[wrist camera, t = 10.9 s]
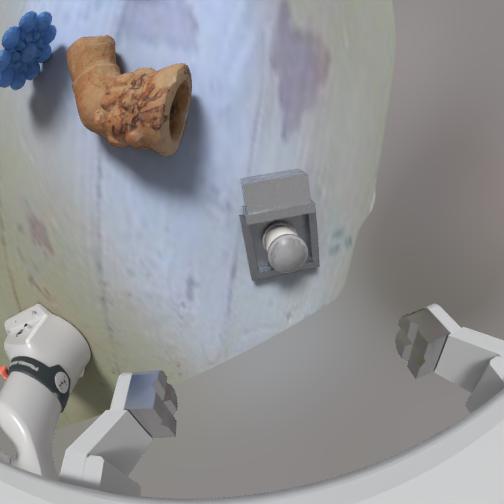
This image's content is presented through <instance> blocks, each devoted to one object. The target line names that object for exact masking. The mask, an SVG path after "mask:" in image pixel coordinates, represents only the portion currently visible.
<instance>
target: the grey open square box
mask: <svg viewBox="0 0 504 504" xmlns="http://www.w3.org/2000/svg"><path fill="white" fill-rule="evenodd" d="M240 180H241V185H242V191H243V196H244V202H245V206H242V208H243V213H244V215H239V216H240V221H241V226H242V232H243V237H244V242H245V247H246V253H247V258H248V263H249V268H250V273H251V278H252V280H257V279H262V278H267V277H272V276H277V275H281V274H286V273H281V272H278V271H276V270H275V269H274V268H273V267H272V266H271V264H270V262H269V260H268V255H267V252H266V250H265V249H264V247H263V244H262V235H263V232H264V230H265V229H266V228H267V227H268V226H269V225H270V224H272V223H274V222H279V221H282V222H287V223H289V224H290V225H292V226H293V227H294V229H295V230H296V232H297V234H298V236H299V237H300V238H301V239H302V240H303V241H304V242H305V244H306V246H307V248H308V257H307V260H306V262H305V263H304V265H303V266H302V267H301V268H300V269H298V270H296V271H300V270H305V269H309V268H314V267H319V249H318V234H317V222H316V210H315V203H314V202H313V201H311V200H310V190H309V181H308V173H306V172H304V171H302V170H300V169H294V170H288V171H281V172H275V173H269V174H263V175H257V176H252V177H246V178H241V179H240ZM294 272H295V271H294Z"/></svg>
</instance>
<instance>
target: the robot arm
mask: <svg viewBox="0 0 504 504" xmlns="http://www.w3.org/2000/svg"><path fill="white" fill-rule="evenodd" d="M399 326H400V328H401V329H400V331H399V332H398V333H397V335H396V341H395V342H396V348H397V351H398V353H399V355H400V356H401V358H402V359H405V360H407V361H408V366H407V367H408V368H409V370H410V371H411V373H412V374H413V376H414V377H415V379H417V378H420V377H422V376H424V375H426V374H429V373H431V372H433V371H435V373H437V374H439V375H440V376H442V377H444V378H446V379H448V380H449V381H451V382H453V383H455V384H456V385H458V386H460V387H462V388H464V389H466V390H467V391H469V392H471V395H470V396H469V398H468V399H467V401H466V404H465V406H466V408H467V409H468V411H469V412H470V414H468V415H467V416H465V417H464V418H462V419H461V420H459V421H458V422H456V423H454V424H453V425H451V426H449V427H448V428H446V429H444V430H443V431H441V432H439V433H437V434H436V435H434V436H432V437H430V438H429V439H426V440H424V441H422V442H421V443H419V444H417V445H415V446H413V447H410V448H408V449H406V450H404V451H402V452H400V453H398V454H395V455H393V456H391V457H389V458H386V459H384V460H381V461H379V462H376V463H374V464H371V465H369V466H366V467H363V468H361V469H358V470H355V471H352V472H349V473H346V474H343V475H340V476H336V477H333V478H330V479H326V480H322V481H319V482H315V483H311V484H307V485H303V486H298V487H294V488H289V489H284V490H278V491H273V492H267V493H260V494H253V495H244V496H235V497H223V498H203V499H172V498H153V497H141V496H140V493H141V486H140V485H139V484H138V483H137V482H135V481H134V480H132V479H131V478H129V477H128V475H129V474H130V472H131V471H132V470H133V468H134V467H135V465H136V464H137V462H138V461H139V459H140V458H141V456H142V455H143V453H144V452H145V450H146V449H147V447H148V446H149V445H150V443H151V442H152V440H153V439H152V438H163V437H175V436H176V420H175V418H174V417H173V415H174V414H175V412H176V411H177V396H176V393H175V390H174V388H173V387H172V385H170V384H168V383H167V376H166V375H165V373H164V371H161V370H159V371H145V372H130V373H121V374H120V375H119V377H118V381H117V384H116V388H115V392H114V395H113V399H112V403H111V407H110V410H106V411H105V412H104V413H103V414H102V415H101V416H100V417H99V418H98V419H97V420H96V421H95V422H94V423H93V424H92V425H91V426H90V427H89V428H88V429H87V430H86V431H85V432H84V433H83V434H82V435H81V436H80V437H79V438H78V439H77V440H76V441H75V442H74V443H73V444H72V445H71V446H70V447H69V448H68V449H67V450H66V453H65V456H64V460H63V464H62V469H61V473H60V475H59V473H58V471H57V468H56V465H55V461H54V457H53V439H54V434H55V430H56V425H57V422H58V419H59V416H60V413H62V412H63V411H64V408H65V407H66V405H67V401H68V398H69V395H70V394H71V392H72V390H73V388H74V387H75V385H76V383H77V381H78V379H79V377H82V376H83V375H84V372H85V366H86V365H87V364H88V362H89V361H90V357H91V353H90V348H89V346H88V344H87V342H86V340H85V339H84V337H83V336H82V335H81V333H80V332H79V331H78V330H77V329H76V328H75V327H74V326H72V325H71V324H70V323H68V322H67V321H65V320H64V319H62V318H60V317H58V316H56V315H54V314H52V313H50V312H49V311H48V310H47V309H46V308H45V307H43V306H42V305H40V304H36V305H34V306H32V307H30V308H28V309H26V310H24V311H22V312H20V313H18V314H17V315H15V316H13V317H11V318H9V319H7V320H6V321H5V329H6V332H7V334H8V337H7V338H6V340H5V342H4V348H5V352H6V354H7V356H8V358H9V361H10V367H9V371H8V369H7V368H6V366H2V367H0V374H1V375H2V376H3V378H4V379H7V380H6V382H5V384H4V386H3V388H2V390H1V392H0V426H1V428H2V429H3V431H4V432H5V433H6V435H7V436H8V437H9V439H10V440H11V442H12V443H13V445H14V448H15V451H16V458H13V457H10V456H9V455H7V454H6V453H4V452H3V451H1V450H0V504H504V341H503V340H500V339H497V338H494V337H492V336H489V335H485V334H483V333H480V332H477V331H474V330H471V329H468V328H465V327H463V328H460V327H459V325H457V323H456V322H454V320H453V319H452V318H451V317H450V316H449V315H448V314H447V313H446V312H445V311H444V310H443V309H442V308H441V307H440V306H439V305H437V304H432V305H430V306H427V307H425V308H422V309H419V310H417V311H414V312H412V313H409V314H406V315H404V316H402V317H401V318H400V320H399Z"/></svg>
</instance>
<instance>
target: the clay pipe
mask: <svg viewBox="0 0 504 504" xmlns="http://www.w3.org/2000/svg"><path fill="white" fill-rule="evenodd" d="M66 58H67V65H68V69H69V72H70V75H71V78H72V81H73V85H72V88H73V92H74V94H75V98H76V102H77V109H78V113H79V116H80V119H81V121H82V123H83V125H84V126H85V127H86V128H87V129H89V130H90V131H92V132H95V133H97V134H99V135H101V136H103V137H104V138H107V140H108V142H109V143H110V144H111V145H113V146H116V147H127V146H129V145H131V146H132V147H133V148H134V149H138V150H149V149H152V150H154V151H155V152H157V153H159V154H160V155H161V156H166V157H170V156H172V155H173V154H174V153H176V151H177V149H178V147H179V145H180V142H181V139H182V135H183V131H184V128H185V124H186V120H187V116H188V113H189V109H190V101H191V91H192V80H191V73H190V70H189V68H188V66H187V65H186V64H183V63H181V64H175V65H171V66H169V67H166V68H163V69H161V70H159V71H155V70H154V69H152V68H140V69H137V70H135V71H134V72H133V73H132V72H128V73H125V74H122V75H121V72H120V68H119V66H117V65H116V54H115V41H114V39H113V38H112V37H110V36H109V35H105V36H96V37H82V38H80V39H78V40H77V41H75V42H74V43H73V44H72V45H71V46H70V48H69V49H68V51H67V55H66Z"/></svg>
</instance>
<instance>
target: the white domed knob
mask: <svg viewBox="0 0 504 504" xmlns="http://www.w3.org/2000/svg"><path fill="white" fill-rule="evenodd" d="M262 244H263V247H264V249H265V250H266V252H267V255H268V260H269V262H270V264H271V266H272V267H273V268H274V269H275V270H276V271H278V272H281V273H291V272H294V271H296V270H298V269H300V268H301V267H302V266H303V265H304V263H305V262H306V260H307V257H308V248H307V246H306V244H305V242H304V241H303V240H302V239H301V238H300V237H299V236H298V234H297V232H296V230H295V229H294V227H293V226H292V225H290V224H289V223H287V222H282V221H279V222H274V223H272V224H270V225H269V226H268V227H267V228H266V229H265V230H264V232H263V235H262Z"/></svg>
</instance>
